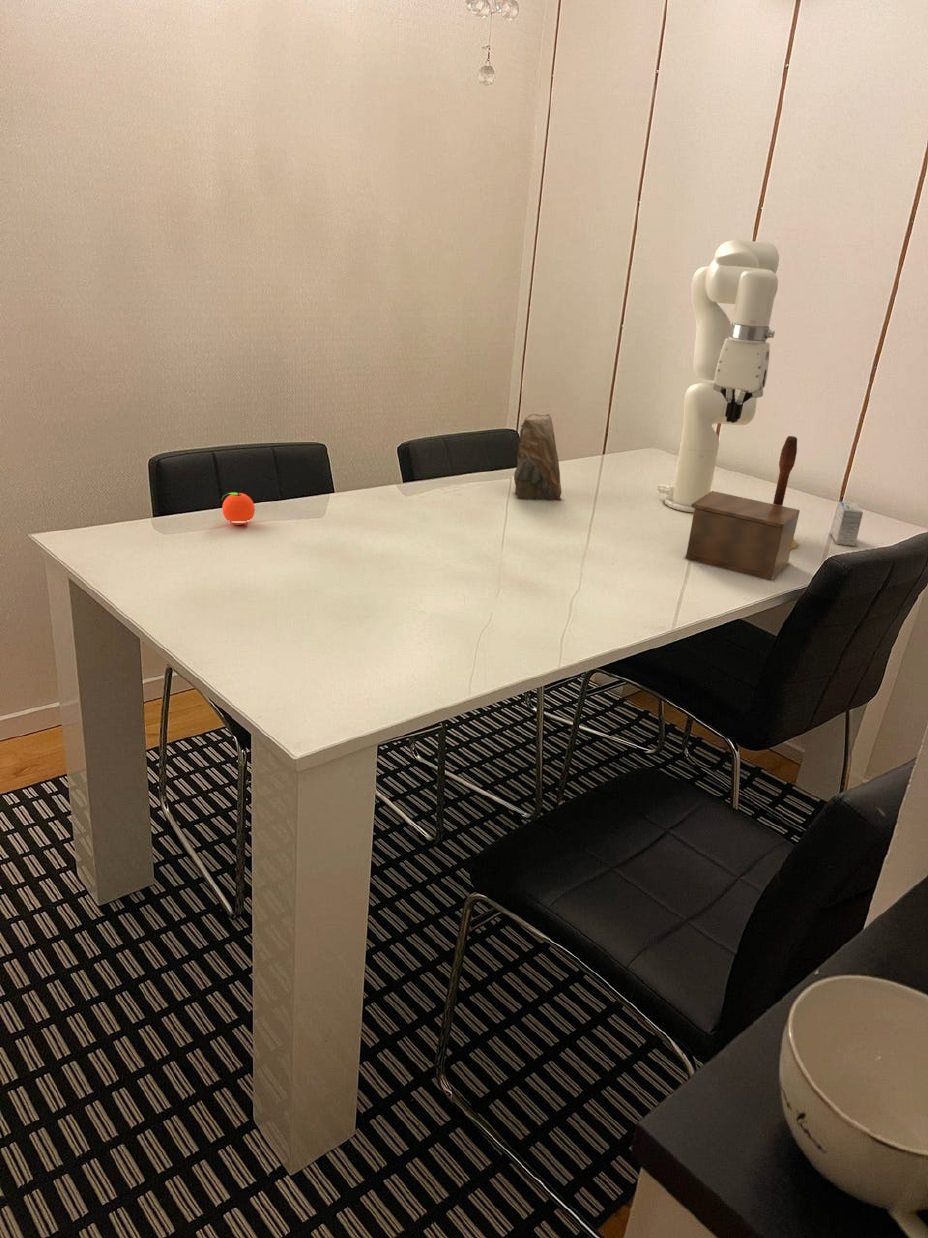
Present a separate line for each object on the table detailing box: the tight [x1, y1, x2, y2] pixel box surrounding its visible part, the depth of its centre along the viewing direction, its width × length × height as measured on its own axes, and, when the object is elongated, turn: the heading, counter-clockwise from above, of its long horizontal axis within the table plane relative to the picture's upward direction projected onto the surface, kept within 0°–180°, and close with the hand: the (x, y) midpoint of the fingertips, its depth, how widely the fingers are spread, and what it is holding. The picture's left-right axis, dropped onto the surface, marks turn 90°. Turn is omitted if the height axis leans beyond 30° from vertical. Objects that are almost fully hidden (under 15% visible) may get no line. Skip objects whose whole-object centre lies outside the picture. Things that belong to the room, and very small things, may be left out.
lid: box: [691, 490, 801, 528], centre depth 203 cm, size 20×14×1 cm
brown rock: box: [513, 413, 562, 501], centre depth 241 cm, size 13×13×20 cm
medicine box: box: [831, 501, 864, 547], centre depth 225 cm, size 8×4×9 cm, turn 168°
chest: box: [685, 508, 800, 581], centre depth 205 cm, size 19×14×12 cm
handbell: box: [772, 435, 798, 550], centre depth 217 cm, size 12×12×25 cm
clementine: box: [220, 492, 256, 526], centre depth 204 cm, size 8×7×7 cm
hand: (731, 421), depth 202 cm, fingers closed
